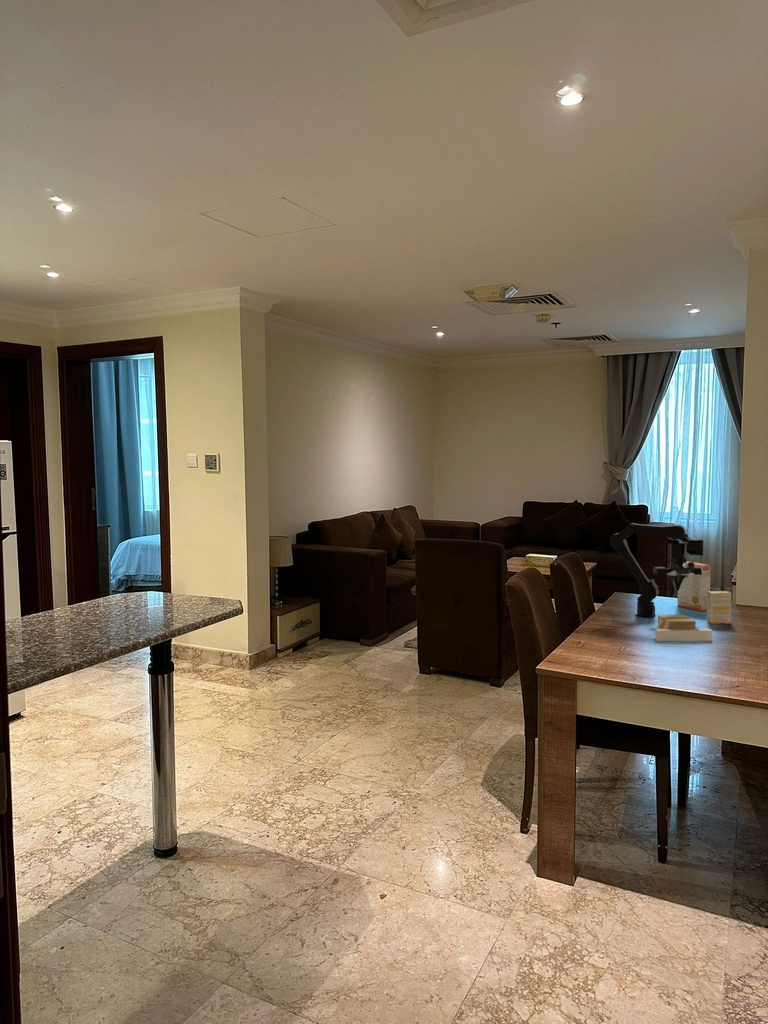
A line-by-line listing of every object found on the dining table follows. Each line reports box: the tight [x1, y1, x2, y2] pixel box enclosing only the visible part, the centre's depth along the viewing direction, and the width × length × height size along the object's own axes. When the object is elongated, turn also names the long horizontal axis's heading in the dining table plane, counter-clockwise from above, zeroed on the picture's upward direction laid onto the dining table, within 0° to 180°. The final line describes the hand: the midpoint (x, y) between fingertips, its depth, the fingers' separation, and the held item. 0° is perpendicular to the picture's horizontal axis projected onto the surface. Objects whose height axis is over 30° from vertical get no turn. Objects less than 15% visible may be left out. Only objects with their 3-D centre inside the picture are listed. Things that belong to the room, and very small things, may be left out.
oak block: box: [657, 614, 697, 629], centre depth 277 cm, size 12×10×7 cm
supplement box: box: [706, 590, 732, 625], centre depth 296 cm, size 8×5×13 cm, turn 84°
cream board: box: [654, 628, 713, 642], centre depth 269 cm, size 3×20×4 cm, turn 88°
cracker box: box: [676, 560, 712, 612], centre depth 326 cm, size 14×6×21 cm, turn 22°
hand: (677, 590), depth 305 cm, fingers closed
